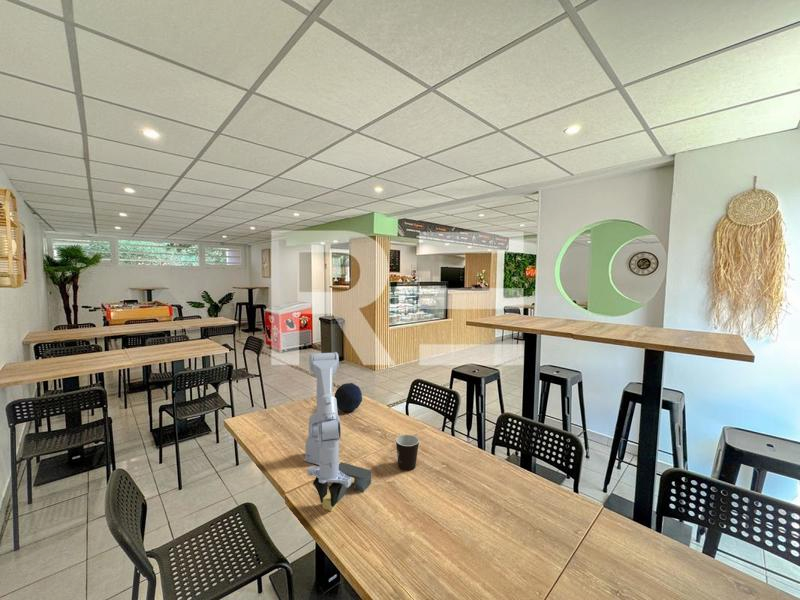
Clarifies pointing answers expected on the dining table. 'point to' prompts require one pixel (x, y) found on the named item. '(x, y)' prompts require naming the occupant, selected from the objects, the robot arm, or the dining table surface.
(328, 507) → the plug
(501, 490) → the dining table surface
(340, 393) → the decorative orb
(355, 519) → the dining table surface
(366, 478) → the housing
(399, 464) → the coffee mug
